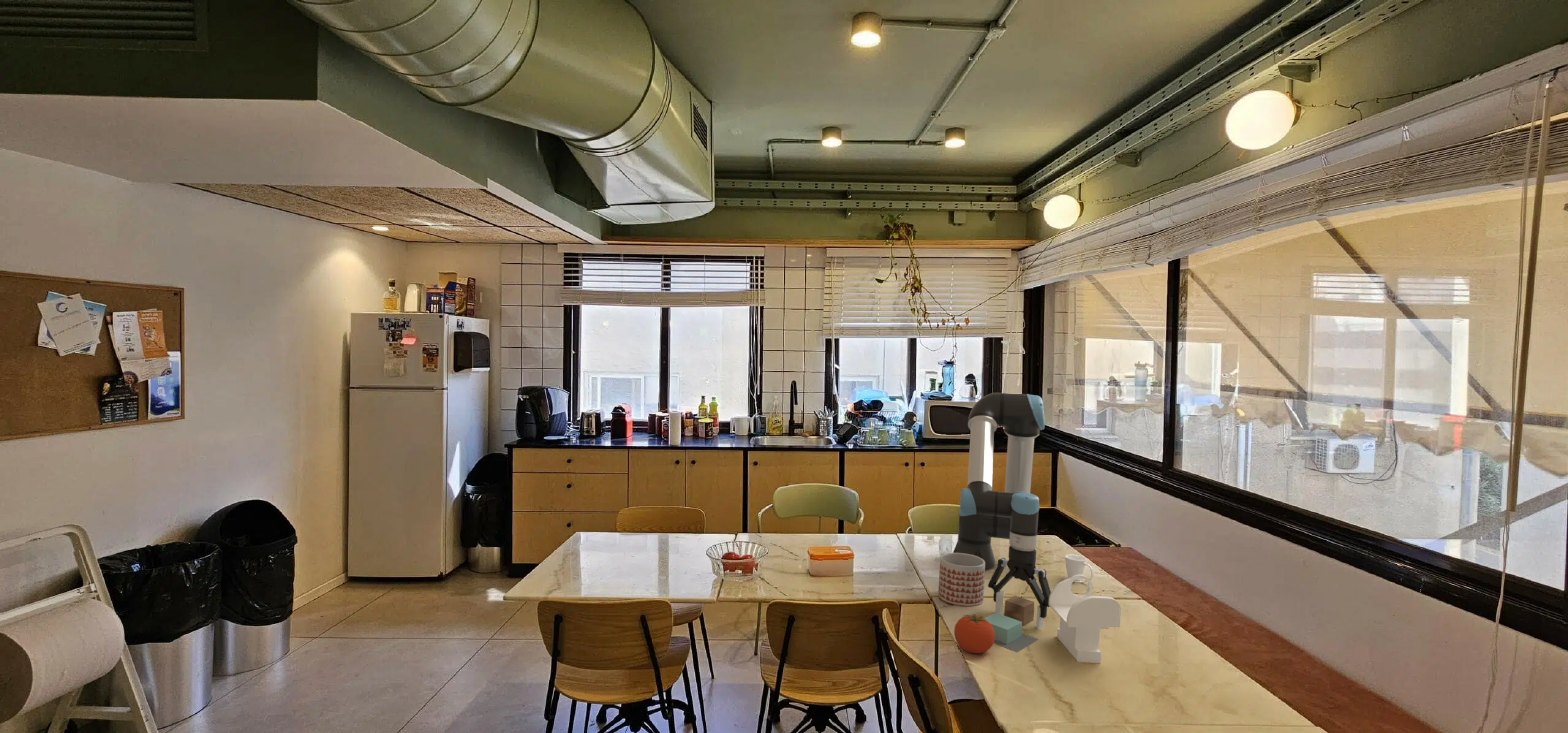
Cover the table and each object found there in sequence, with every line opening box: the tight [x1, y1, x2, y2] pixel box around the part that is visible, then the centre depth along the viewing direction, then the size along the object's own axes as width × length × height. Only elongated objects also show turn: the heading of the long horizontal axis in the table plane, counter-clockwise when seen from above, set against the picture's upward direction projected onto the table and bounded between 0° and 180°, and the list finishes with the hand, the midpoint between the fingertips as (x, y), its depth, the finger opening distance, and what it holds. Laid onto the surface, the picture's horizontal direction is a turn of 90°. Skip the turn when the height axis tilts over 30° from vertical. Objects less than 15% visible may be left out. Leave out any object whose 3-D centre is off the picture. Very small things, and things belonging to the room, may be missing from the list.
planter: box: [937, 552, 986, 608], centre depth 211 cm, size 14×14×13 cm
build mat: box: [993, 633, 1039, 653], centre depth 185 cm, size 16×12×1 cm
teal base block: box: [983, 612, 1023, 644], centre depth 185 cm, size 8×8×4 cm
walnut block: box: [1003, 595, 1035, 627], centre depth 196 cm, size 6×6×6 cm
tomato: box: [953, 613, 995, 654], centre depth 175 cm, size 10×10×10 cm
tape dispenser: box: [1048, 574, 1122, 664], centre depth 179 cm, size 14×13×18 cm
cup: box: [1064, 554, 1094, 584], centre depth 231 cm, size 7×10×8 cm
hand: (1018, 620), depth 196 cm, fingers open, 12 cm apart
